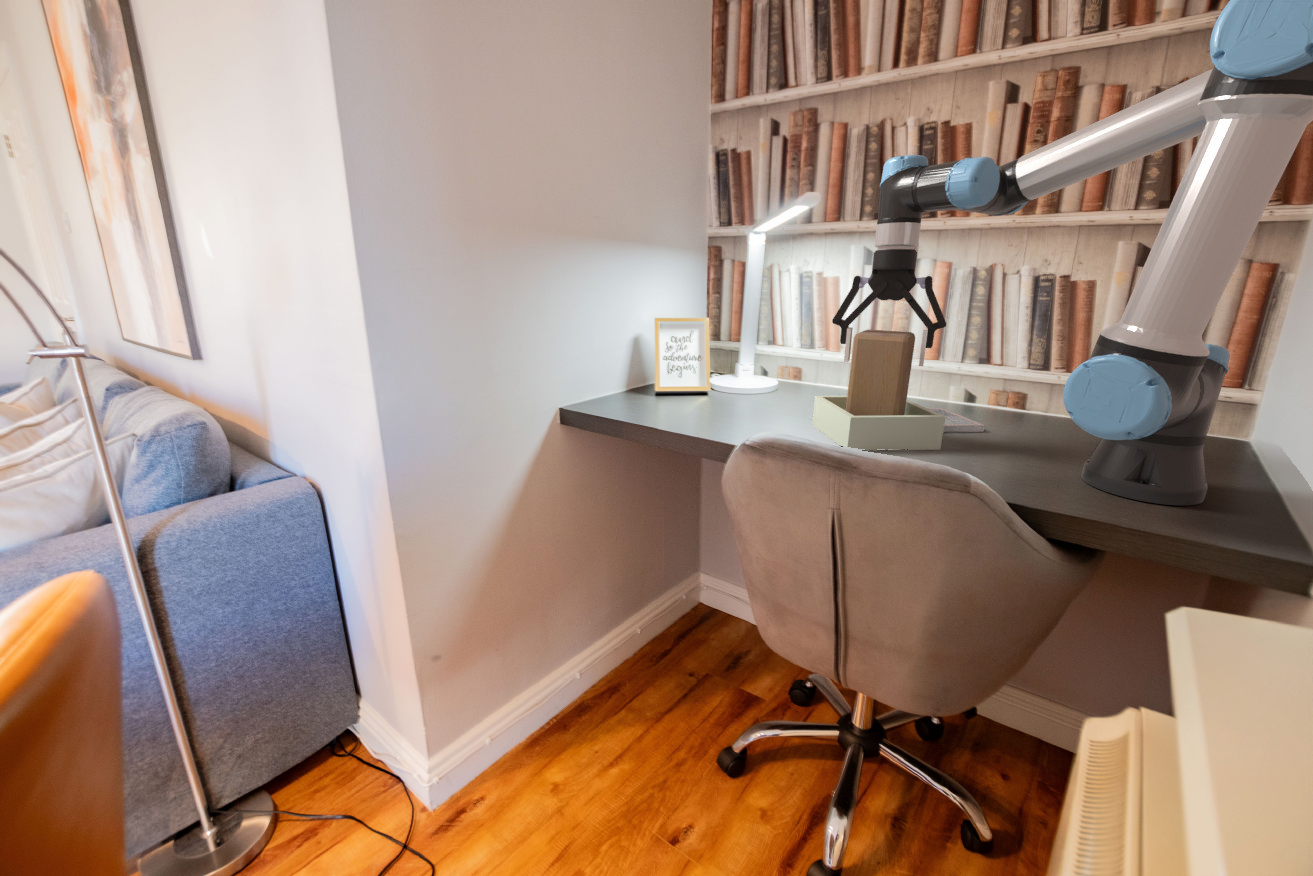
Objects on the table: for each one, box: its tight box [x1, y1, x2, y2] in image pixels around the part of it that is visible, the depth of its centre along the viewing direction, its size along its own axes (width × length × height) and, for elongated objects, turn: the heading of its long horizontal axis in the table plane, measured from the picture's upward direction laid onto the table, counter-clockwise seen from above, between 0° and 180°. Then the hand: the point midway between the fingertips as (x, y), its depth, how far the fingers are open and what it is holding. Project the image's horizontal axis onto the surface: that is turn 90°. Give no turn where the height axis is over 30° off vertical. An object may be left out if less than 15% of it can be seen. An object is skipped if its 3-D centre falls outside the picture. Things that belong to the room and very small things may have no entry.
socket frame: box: [926, 407, 986, 434], centre depth 127 cm, size 15×15×2 cm
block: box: [846, 329, 916, 416], centre depth 113 cm, size 10×10×20 cm
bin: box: [812, 395, 947, 452], centre depth 115 cm, size 18×18×6 cm
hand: (883, 363), depth 112 cm, fingers open, 13 cm apart
